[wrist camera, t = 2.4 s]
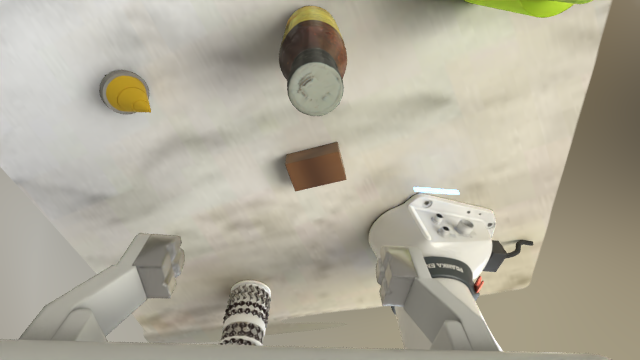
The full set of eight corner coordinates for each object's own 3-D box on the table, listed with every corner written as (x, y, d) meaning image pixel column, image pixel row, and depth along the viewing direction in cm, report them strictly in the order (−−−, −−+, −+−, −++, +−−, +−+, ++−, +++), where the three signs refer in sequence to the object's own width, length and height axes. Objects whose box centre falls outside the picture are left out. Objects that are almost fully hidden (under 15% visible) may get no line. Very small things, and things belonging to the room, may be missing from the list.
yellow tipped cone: (114, 54, 39) (151, 78, 34) (144, 85, 44) (181, 111, 39) (79, 82, 38) (113, 112, 33) (115, 111, 43) (149, 141, 38)
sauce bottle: (280, 10, 37) (255, 44, 20) (332, -2, 36) (351, 23, 20) (293, 66, 40) (281, 134, 24) (341, 57, 40) (362, 119, 23)
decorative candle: (243, 272, 62) (209, 423, 42) (281, 289, 66) (267, 437, 45) (220, 295, 66) (179, 444, 45) (258, 310, 69) (235, 455, 49)
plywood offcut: (337, 141, 46) (338, 151, 44) (344, 169, 49) (346, 179, 47) (286, 154, 47) (285, 164, 45) (296, 180, 50) (295, 191, 48)
